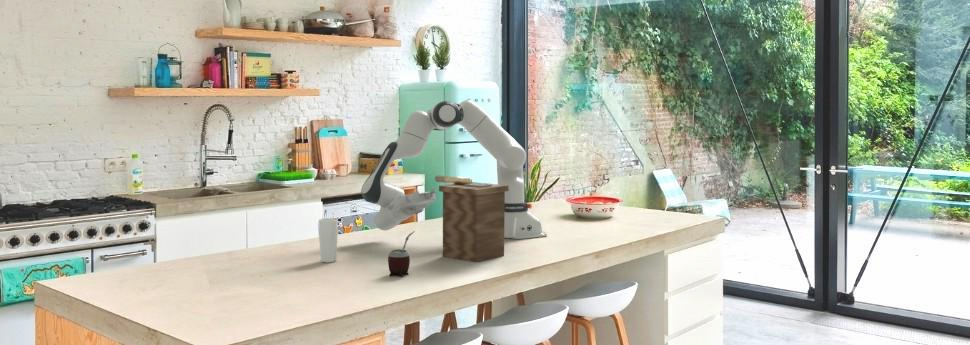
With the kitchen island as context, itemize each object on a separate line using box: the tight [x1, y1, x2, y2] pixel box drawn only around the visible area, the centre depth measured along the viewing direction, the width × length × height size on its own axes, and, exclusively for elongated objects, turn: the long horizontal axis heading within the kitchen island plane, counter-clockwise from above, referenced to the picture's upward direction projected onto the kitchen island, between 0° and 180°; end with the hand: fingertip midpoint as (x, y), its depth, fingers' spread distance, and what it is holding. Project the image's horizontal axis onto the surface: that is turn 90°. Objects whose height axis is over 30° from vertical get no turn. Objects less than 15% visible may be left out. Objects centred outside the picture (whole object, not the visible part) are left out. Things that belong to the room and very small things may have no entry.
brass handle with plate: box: [434, 174, 492, 188], centre depth 322 cm, size 24×6×3 cm, turn 51°
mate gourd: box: [387, 230, 416, 278], centre depth 286 cm, size 8×8×15 cm
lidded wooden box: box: [438, 181, 509, 263], centre depth 319 cm, size 18×18×26 cm
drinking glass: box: [317, 217, 339, 264], centre depth 308 cm, size 7×7×15 cm
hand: (426, 191), depth 333 cm, fingers open, 8 cm apart
